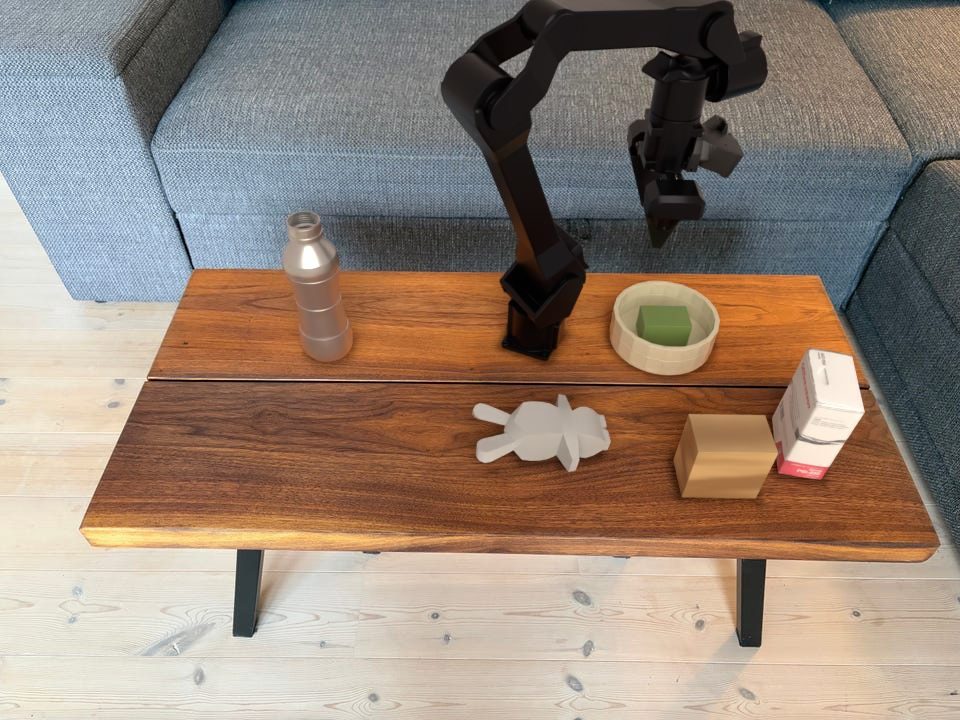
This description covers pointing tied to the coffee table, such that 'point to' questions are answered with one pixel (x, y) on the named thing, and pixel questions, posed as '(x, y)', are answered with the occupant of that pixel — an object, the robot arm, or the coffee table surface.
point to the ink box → (816, 413)
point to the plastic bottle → (316, 288)
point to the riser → (724, 456)
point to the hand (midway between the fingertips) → (650, 226)
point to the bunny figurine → (544, 432)
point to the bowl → (655, 355)
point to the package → (664, 325)
